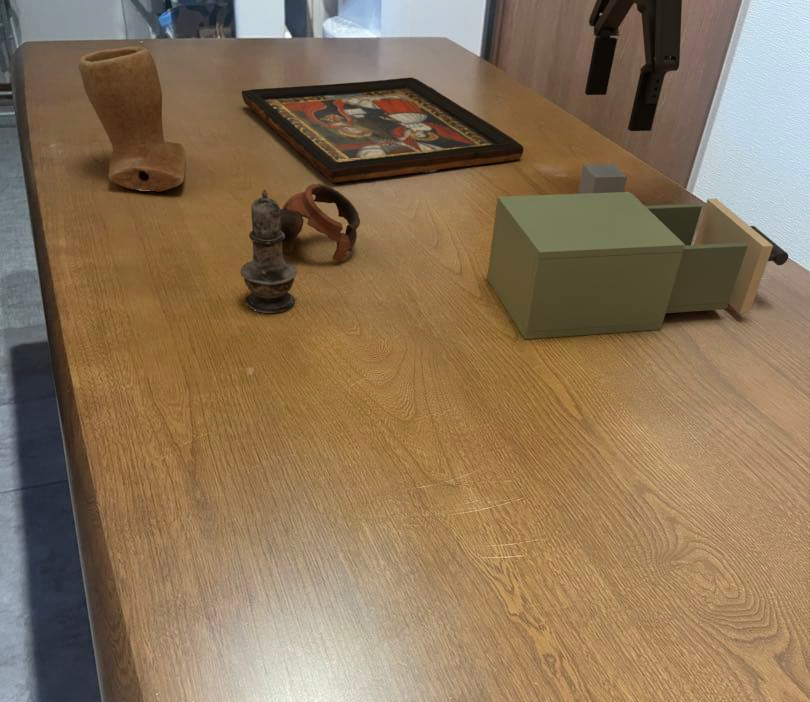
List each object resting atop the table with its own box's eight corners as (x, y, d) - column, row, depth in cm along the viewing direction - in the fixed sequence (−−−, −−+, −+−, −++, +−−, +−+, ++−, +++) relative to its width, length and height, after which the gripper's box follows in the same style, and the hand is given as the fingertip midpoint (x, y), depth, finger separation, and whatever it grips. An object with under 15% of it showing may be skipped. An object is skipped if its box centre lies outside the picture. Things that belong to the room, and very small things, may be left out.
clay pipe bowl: (103, 154, 122) (82, 33, 111) (189, 155, 123) (177, 36, 113) (89, 197, 111) (65, 68, 101) (185, 197, 112) (170, 70, 102)
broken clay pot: (301, 228, 109) (334, 175, 103) (346, 284, 107) (382, 233, 102) (231, 232, 100) (263, 174, 94) (279, 293, 98) (314, 238, 93)
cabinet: (611, 272, 104) (630, 191, 97) (660, 329, 94) (685, 244, 87) (486, 279, 100) (497, 196, 94) (524, 339, 91) (539, 251, 84)
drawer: (731, 261, 106) (752, 197, 100) (785, 310, 97) (811, 243, 92) (585, 269, 102) (599, 202, 96) (628, 321, 93) (646, 252, 88)
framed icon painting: (543, 156, 131) (546, 136, 129) (344, 197, 115) (344, 175, 113) (402, 85, 153) (403, 67, 151) (218, 111, 138) (217, 91, 136)
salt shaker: (268, 283, 97) (262, 173, 88) (309, 300, 94) (306, 189, 86) (231, 302, 93) (221, 190, 85) (272, 321, 91) (266, 207, 83)
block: (576, 198, 120) (583, 164, 117) (606, 196, 121) (613, 163, 118) (588, 211, 117) (595, 177, 114) (619, 210, 118) (627, 176, 114)
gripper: (585, -115, 103) (553, 80, 117) (681, -77, 85) (630, 147, 100) (643, -113, 104) (604, 80, 119) (749, -75, 87) (689, 146, 101)
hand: (616, 111), depth 109 cm, fingers open, 13 cm apart
